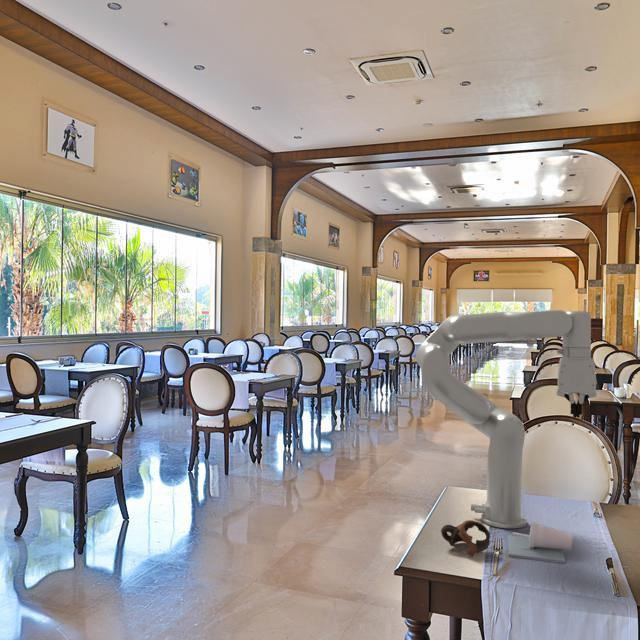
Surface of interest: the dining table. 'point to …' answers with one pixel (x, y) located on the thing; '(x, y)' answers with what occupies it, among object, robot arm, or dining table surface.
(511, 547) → the mat
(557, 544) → the smoothie
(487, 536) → the brown twisted looped piece
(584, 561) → the dining table surface
